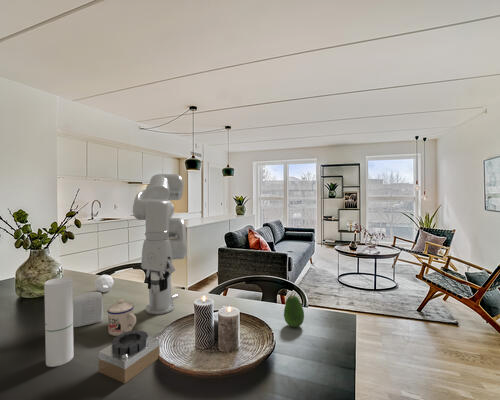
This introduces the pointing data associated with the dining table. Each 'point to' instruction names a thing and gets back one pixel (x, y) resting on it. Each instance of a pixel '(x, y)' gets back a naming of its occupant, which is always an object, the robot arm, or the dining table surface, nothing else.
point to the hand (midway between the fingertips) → (157, 288)
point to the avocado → (293, 312)
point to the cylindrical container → (58, 321)
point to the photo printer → (87, 309)
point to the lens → (155, 282)
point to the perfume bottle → (104, 283)
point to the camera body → (128, 355)
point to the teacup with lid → (120, 318)
